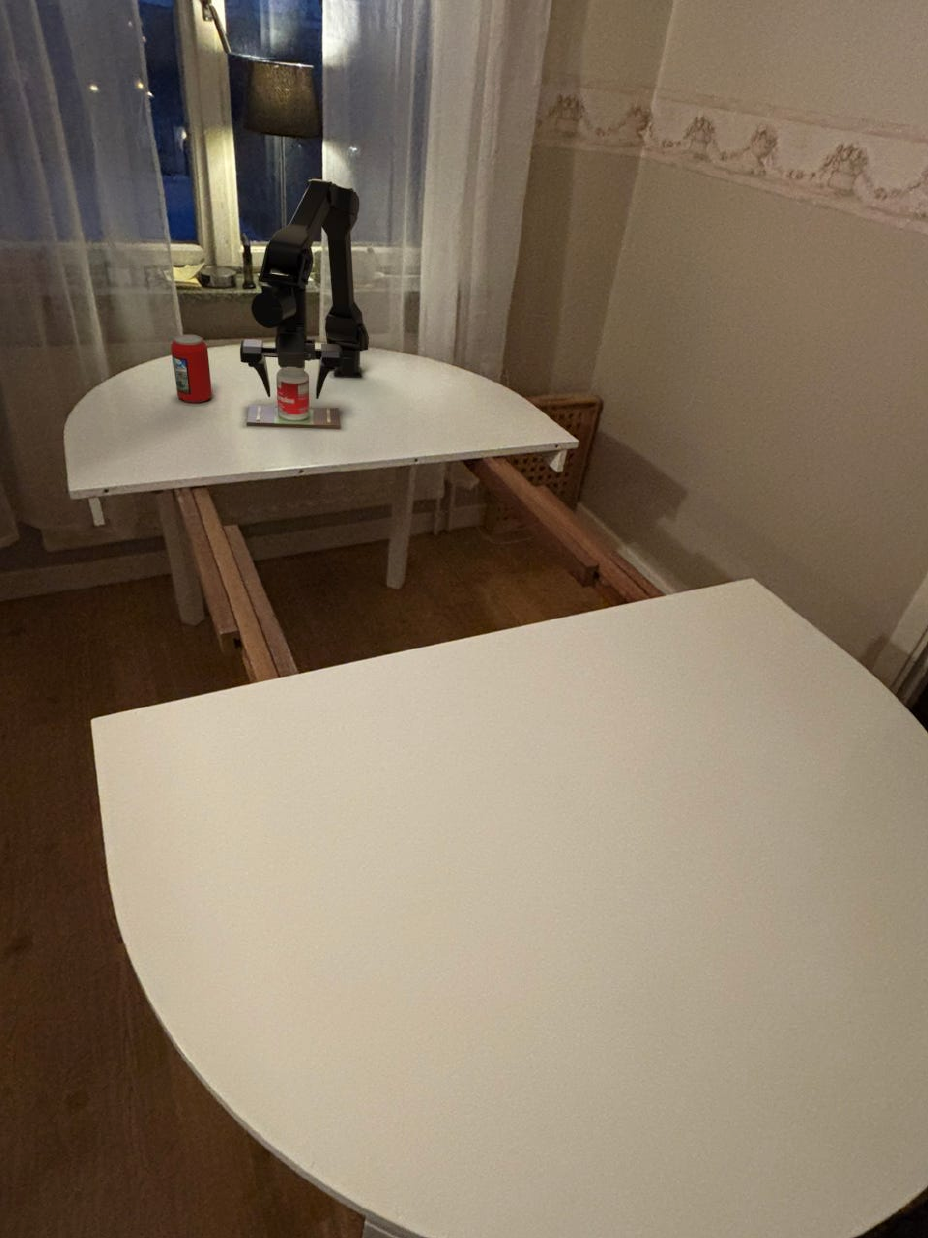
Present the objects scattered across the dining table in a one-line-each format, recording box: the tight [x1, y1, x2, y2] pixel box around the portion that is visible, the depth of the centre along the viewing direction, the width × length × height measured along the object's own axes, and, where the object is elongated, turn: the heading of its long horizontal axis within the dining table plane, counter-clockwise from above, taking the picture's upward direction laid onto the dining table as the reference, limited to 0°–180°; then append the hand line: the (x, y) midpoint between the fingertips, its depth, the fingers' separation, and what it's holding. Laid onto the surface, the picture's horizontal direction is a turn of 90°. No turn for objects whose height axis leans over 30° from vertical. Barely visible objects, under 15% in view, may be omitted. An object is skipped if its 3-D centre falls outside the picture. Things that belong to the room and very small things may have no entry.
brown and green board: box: [245, 404, 341, 430], centre depth 148 cm, size 9×18×1 cm, turn 100°
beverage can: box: [170, 334, 213, 404], centre depth 148 cm, size 7×7×12 cm
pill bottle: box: [276, 365, 310, 421], centre depth 144 cm, size 6×6×11 cm
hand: (293, 397), depth 145 cm, fingers open, 9 cm apart
